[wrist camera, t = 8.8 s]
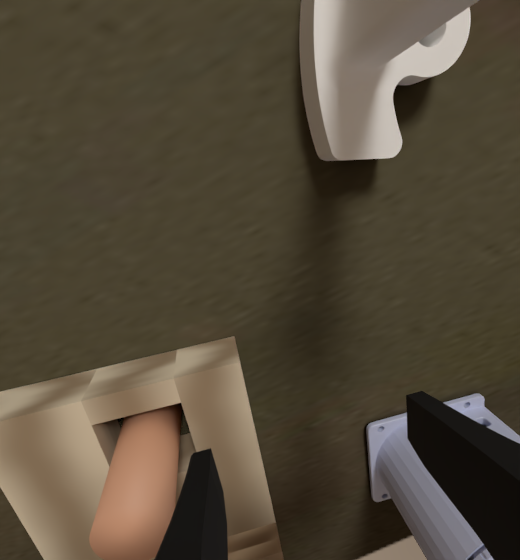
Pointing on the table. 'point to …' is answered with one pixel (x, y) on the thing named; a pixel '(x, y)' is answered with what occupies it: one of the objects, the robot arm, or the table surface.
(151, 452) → the peg
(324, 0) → the joystick
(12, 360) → the table surface
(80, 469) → the socket block
